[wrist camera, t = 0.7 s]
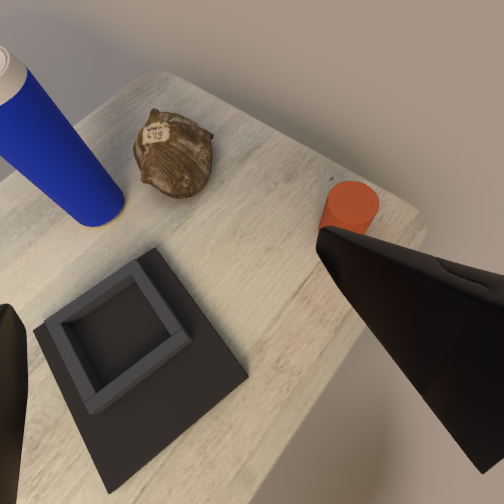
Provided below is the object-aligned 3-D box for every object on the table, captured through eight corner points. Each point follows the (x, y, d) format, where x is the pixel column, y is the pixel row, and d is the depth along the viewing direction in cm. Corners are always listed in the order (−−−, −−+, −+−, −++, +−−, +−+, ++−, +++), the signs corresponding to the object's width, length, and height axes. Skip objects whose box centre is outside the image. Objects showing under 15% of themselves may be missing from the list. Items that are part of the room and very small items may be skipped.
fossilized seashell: (148, 107, 33) (118, 190, 31) (157, 67, 27) (120, 167, 25) (213, 138, 36) (189, 216, 34) (233, 108, 30) (206, 201, 28)
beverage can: (106, 178, 33) (-12, 28, 19) (136, 204, 31) (31, 62, 17) (66, 210, 31) (-92, 73, 18) (96, 239, 30) (-53, 114, 16)
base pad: (249, 376, 24) (246, 375, 22) (115, 490, 22) (96, 502, 19) (158, 251, 29) (148, 239, 27) (40, 332, 26) (18, 327, 24)
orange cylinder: (371, 233, 28) (390, 203, 24) (339, 258, 28) (353, 233, 23) (340, 205, 30) (352, 172, 25) (309, 228, 29) (316, 198, 24)
